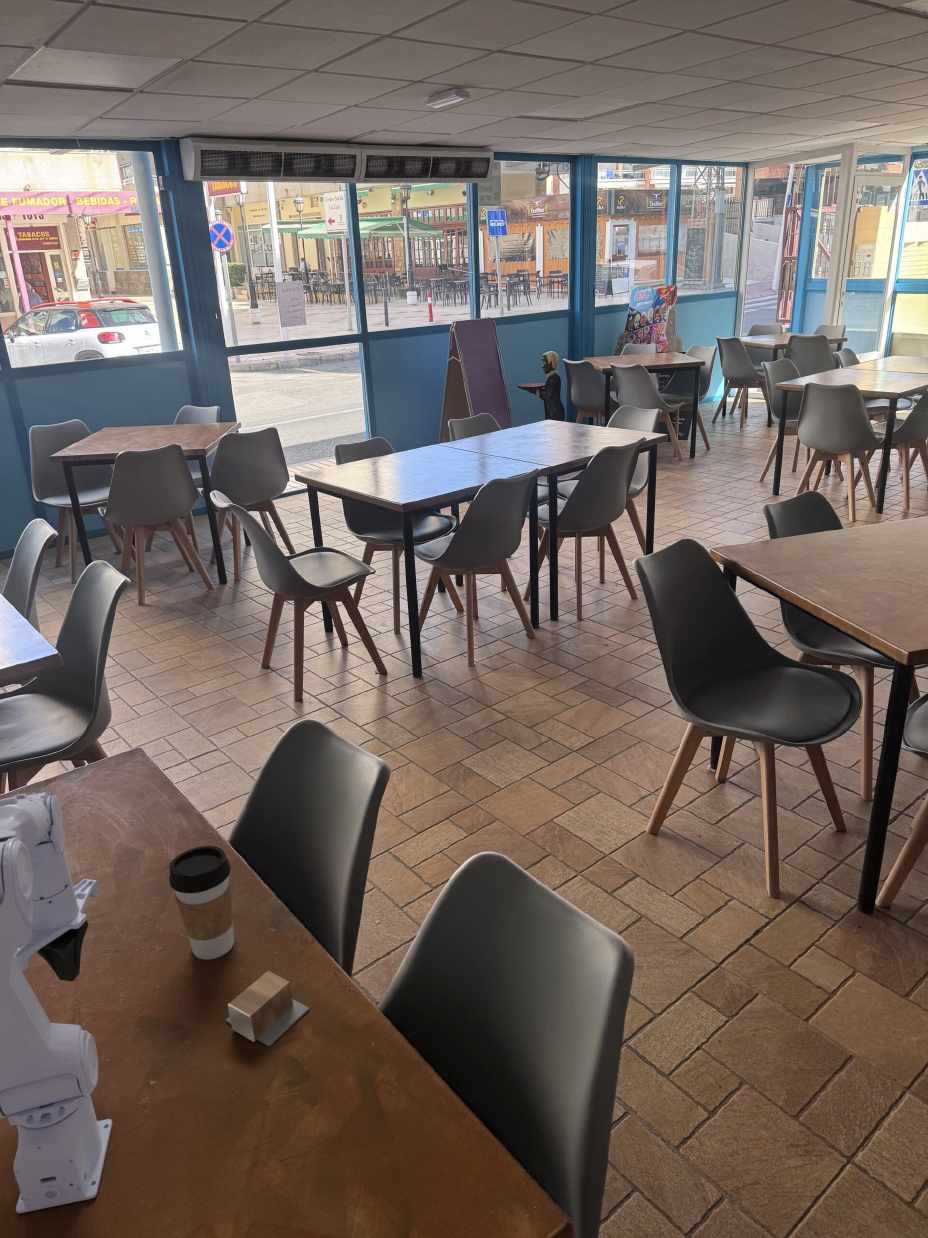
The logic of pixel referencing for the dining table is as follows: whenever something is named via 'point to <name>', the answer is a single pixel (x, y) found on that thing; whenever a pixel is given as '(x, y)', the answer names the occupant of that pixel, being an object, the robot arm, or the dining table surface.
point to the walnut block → (260, 1005)
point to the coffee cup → (204, 899)
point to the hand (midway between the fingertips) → (69, 976)
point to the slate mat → (281, 1023)
